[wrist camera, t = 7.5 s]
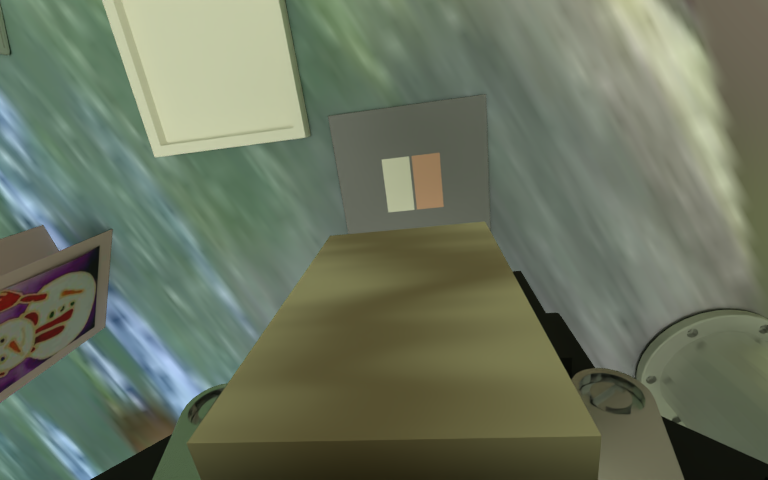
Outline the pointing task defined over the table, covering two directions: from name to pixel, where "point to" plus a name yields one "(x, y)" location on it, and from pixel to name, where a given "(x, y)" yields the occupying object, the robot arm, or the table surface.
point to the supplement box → (3, 37)
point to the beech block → (401, 373)
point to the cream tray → (210, 72)
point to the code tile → (413, 165)
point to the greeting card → (48, 301)
